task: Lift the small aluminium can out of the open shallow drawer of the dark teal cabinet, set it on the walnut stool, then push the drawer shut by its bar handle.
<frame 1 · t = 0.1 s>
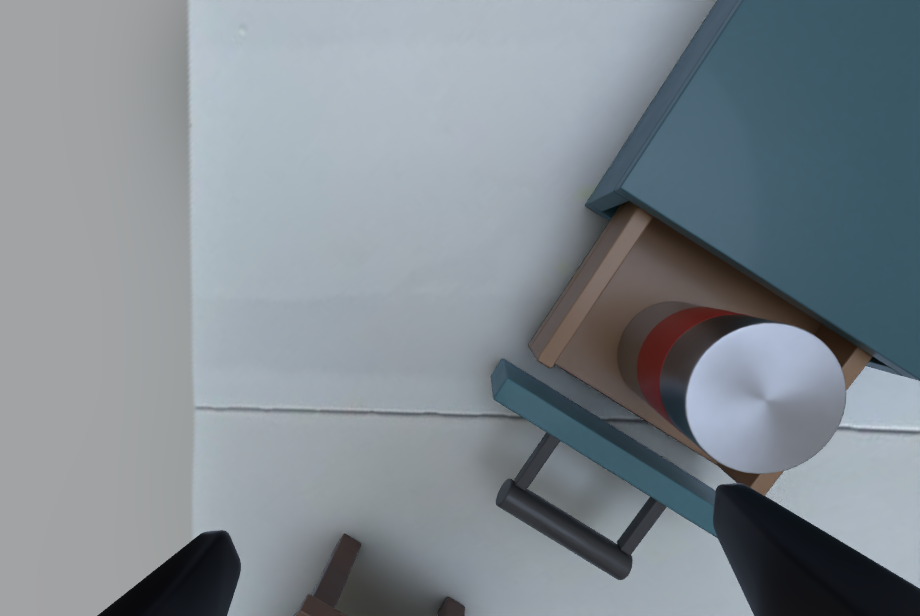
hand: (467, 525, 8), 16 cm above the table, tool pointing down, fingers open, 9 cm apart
cabinet: (792, 148, 22), on the table
can: (670, 353, 21), point 2 cm above the table, touching drawer
drawer: (664, 376, 20), point 3 cm above the table, slide at 9.0 cm, touching can
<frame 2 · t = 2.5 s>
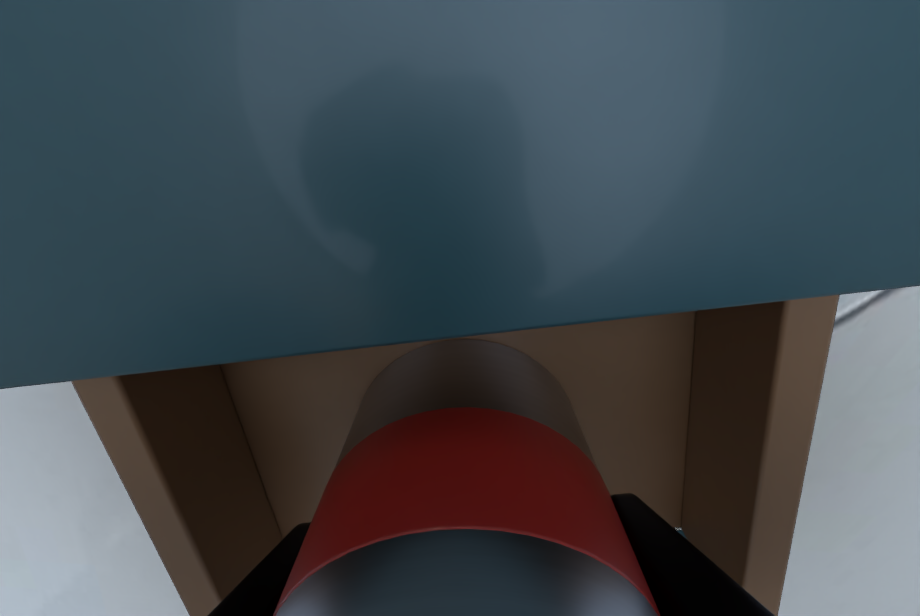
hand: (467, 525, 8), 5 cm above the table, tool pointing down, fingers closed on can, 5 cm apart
can: (465, 437, 10), point 2 cm above the table, touching drawer, gripper
drawer: (471, 499, 10), point 3 cm above the table, slide at 9.0 cm, touching can
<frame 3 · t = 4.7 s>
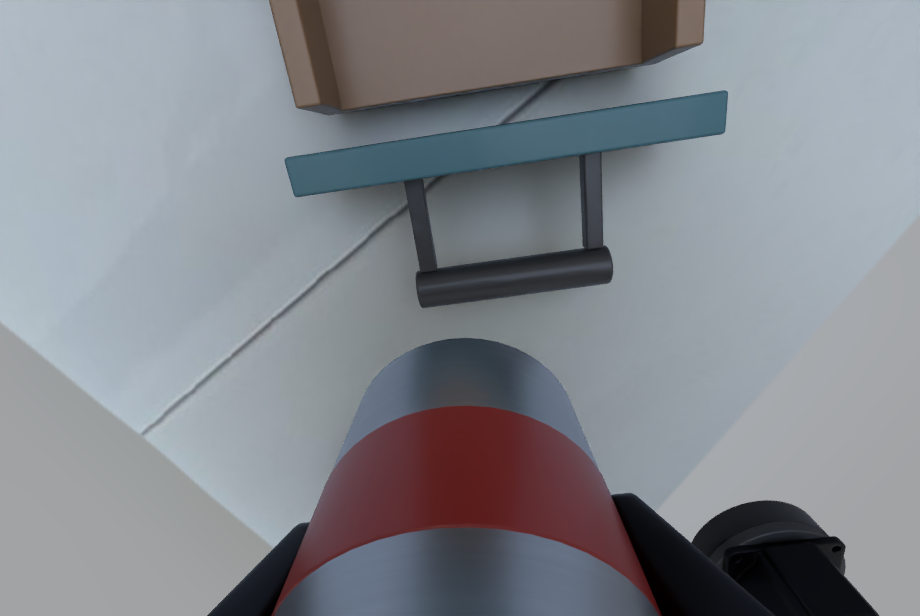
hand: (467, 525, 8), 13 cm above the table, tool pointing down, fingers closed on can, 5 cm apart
can: (465, 436, 10), point 10 cm above the table, touching gripper
when the fingers open (8 cm above the table, at t = 7.1 s): can stays where it is, resting on stool.
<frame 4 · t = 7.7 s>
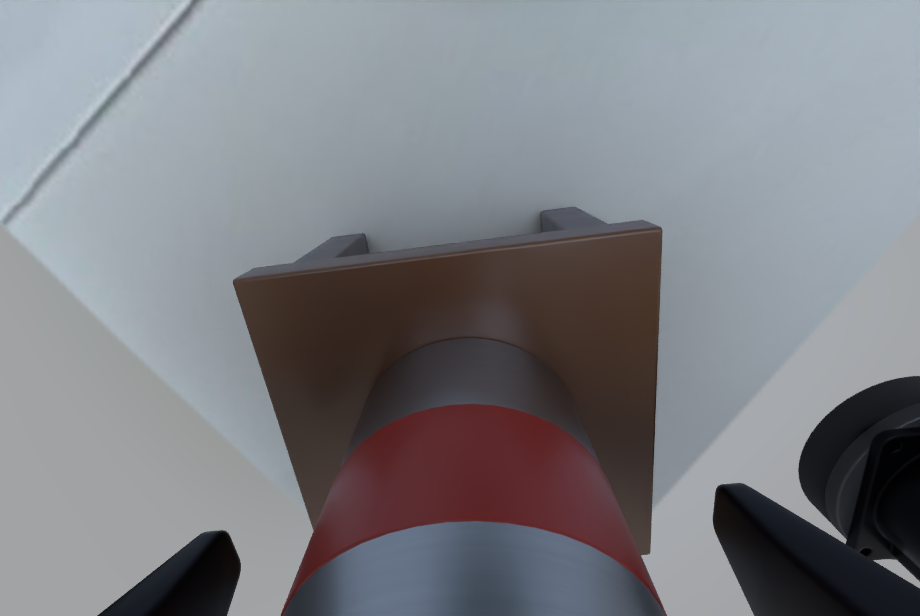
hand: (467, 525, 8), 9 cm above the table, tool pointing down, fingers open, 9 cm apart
can: (469, 435, 10), point 6 cm above the table, touching stool
stool: (466, 334, 16), on the table
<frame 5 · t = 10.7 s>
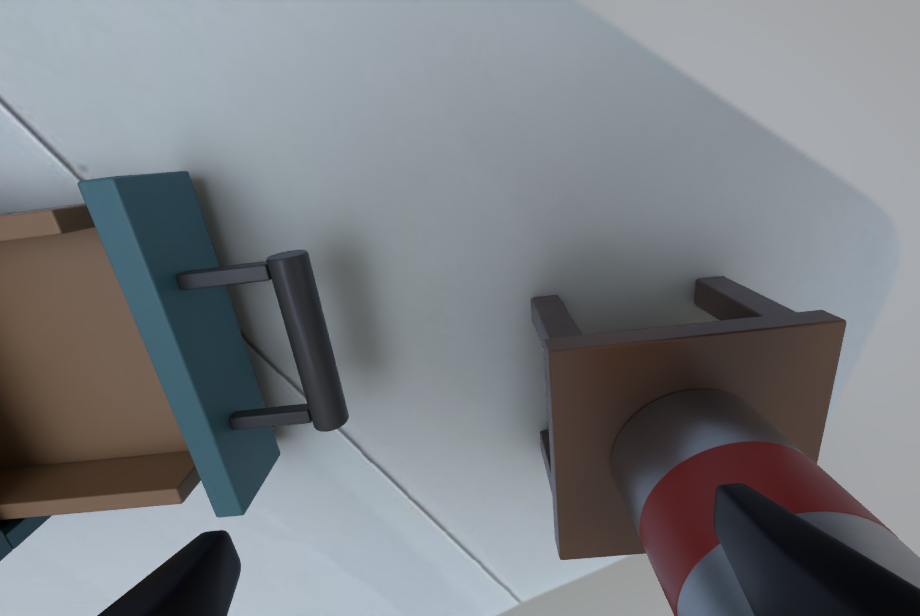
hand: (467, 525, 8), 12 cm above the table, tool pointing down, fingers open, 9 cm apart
can: (686, 454, 15), point 6 cm above the table, touching stool
drawer: (100, 361, 17), point 3 cm above the table, slide at 9.0 cm
stool: (624, 370, 20), on the table
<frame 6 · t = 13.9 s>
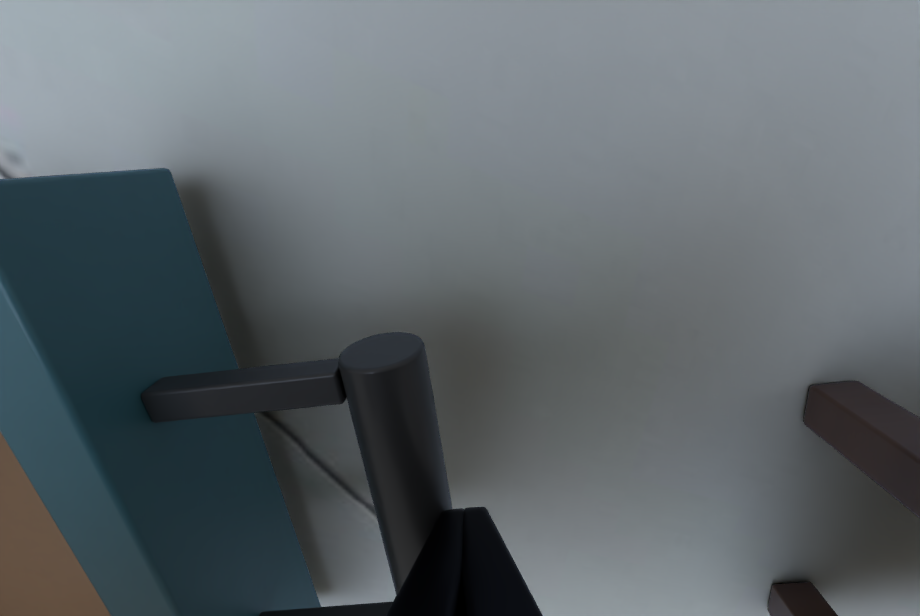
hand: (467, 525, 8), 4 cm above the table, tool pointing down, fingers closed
drawer: (7, 528, 9), point 3 cm above the table, slide at 8.1 cm, touching gripper
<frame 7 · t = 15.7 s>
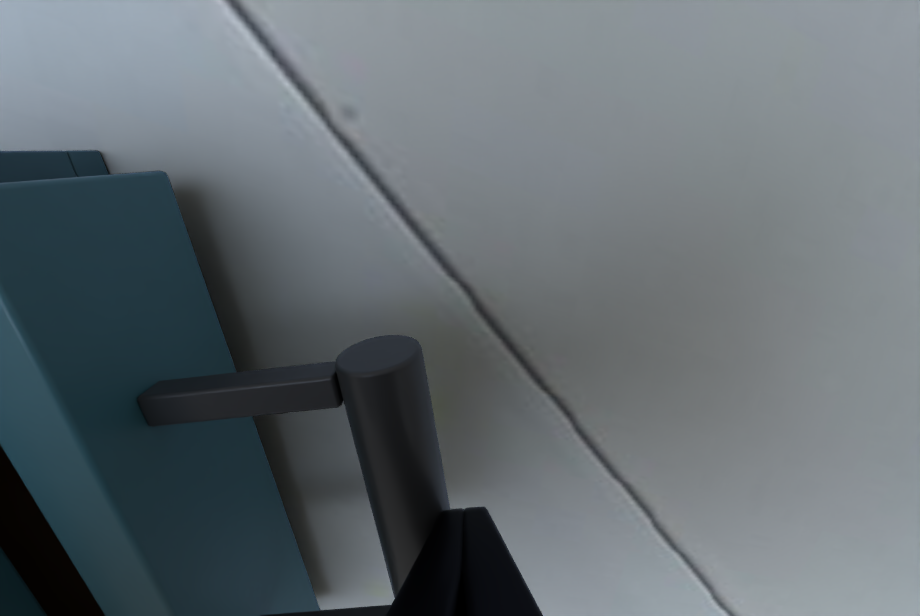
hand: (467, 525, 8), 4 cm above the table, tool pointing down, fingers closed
drawer: (4, 532, 9), point 3 cm above the table, slide at 0.7 cm, touching gripper
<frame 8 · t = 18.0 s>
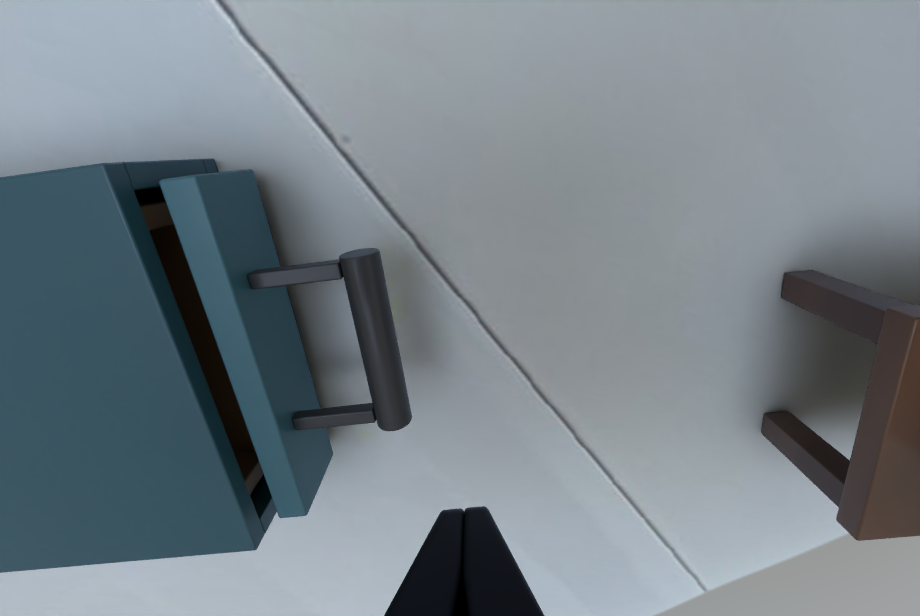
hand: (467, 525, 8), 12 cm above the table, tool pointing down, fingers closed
cabinet: (104, 344, 20), on the table
drawer: (162, 361, 17), point 3 cm above the table, slide at 0.7 cm
stool: (865, 348, 20), on the table
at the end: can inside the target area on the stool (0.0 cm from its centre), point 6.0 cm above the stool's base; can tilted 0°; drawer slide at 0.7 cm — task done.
